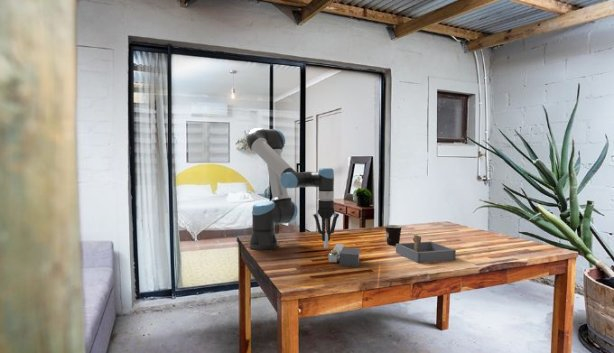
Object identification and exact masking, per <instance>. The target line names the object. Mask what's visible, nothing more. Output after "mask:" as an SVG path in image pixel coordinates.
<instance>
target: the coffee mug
mask: <svg viewBox="0 0 614 353" xmlns="http://www.w3.org/2000/svg"><path fill="white" fill-rule="evenodd" d="M384 227H385V237H386V244H387V246H391V247H396V244H398V243H400V241H401V234H402V226H401V225H398V224H387V225H384Z"/></svg>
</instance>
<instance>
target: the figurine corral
mask: <svg viewBox="0 0 614 353" xmlns="http://www.w3.org/2000/svg"><path fill="white" fill-rule="evenodd" d="M456 251H457V250H456V249H453V248H451V247H449V246H445V245H442V244H439V243H436V242H435V241H434V242H433V241H432V240H431V241H430V240H429V241H421V242H420V243H419V252H417V251H414V242H403V243H401V242H399V243H398V244H396V246H395V254H398V255H400V256H403V257H404V258H407V259H408V260H411V261H412V262H415V263H416V264H421V263H431V262H432V263H434V262H435V263H436V262H444V261H445V262H446V261H456V258H457V257H456V255H457V253H456Z"/></svg>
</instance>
